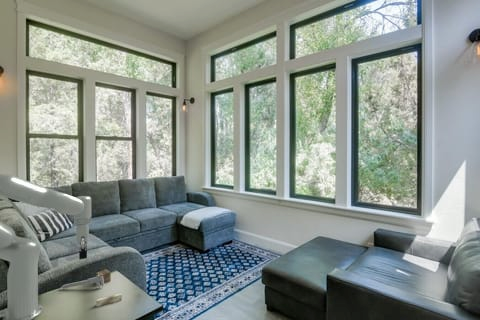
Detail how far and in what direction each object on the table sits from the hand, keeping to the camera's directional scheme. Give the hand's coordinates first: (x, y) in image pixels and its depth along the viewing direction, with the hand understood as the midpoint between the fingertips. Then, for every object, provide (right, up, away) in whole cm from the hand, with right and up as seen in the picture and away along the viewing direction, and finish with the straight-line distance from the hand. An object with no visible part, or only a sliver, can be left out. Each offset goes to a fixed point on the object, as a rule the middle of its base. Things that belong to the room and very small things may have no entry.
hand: (83, 255), depth 129 cm
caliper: (0, -17, -1) cm, 17 cm away
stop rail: (+20, -16, -14) cm, 29 cm away
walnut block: (+7, -16, +6) cm, 18 cm away
